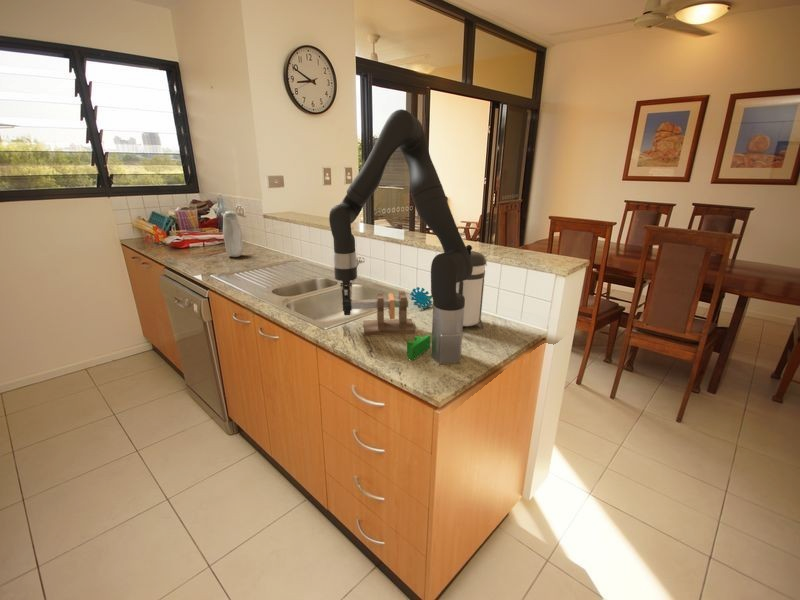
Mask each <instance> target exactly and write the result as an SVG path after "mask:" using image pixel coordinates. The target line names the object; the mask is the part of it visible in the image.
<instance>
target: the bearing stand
mask: <svg viewBox="0 0 800 600" xmlns="http://www.w3.org/2000/svg"><path fill="white" fill-rule="evenodd" d="M376 299H377V301H378V308H376V320H375V319H374V320H371V319H370V320H362V321H363V336H364V337H378V336H397V335H398V336H400V335H402V336H403V335H416V328H415V326H414V325H415V324H414V323H413V320H412V319H413V318H408V317H407V316H408V315H407V314H408V313H407V312H408V310H407V309H408V307H407V299H408V296H407V295H406V292H405V290H398V299H400V307H398V318H396V319H385V318H384V315H385V312H384V311H385V310H384V309H385V308H384V299H385V298H384V293H383V291H376Z"/></svg>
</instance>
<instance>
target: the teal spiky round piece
mask: <svg viewBox="0 0 800 600" xmlns="http://www.w3.org/2000/svg"><path fill="white" fill-rule="evenodd" d="M424 291H425V288H424V287H421V288H420V287H419V286H417V287H416V288H413V289H412V290H411V292H410V296H411V297H410V300H411V301H413V305H414V306H416V305H417V304H419V305H418V306H417V307H418V308H419V309H421V308H422V309H423V310H426V309H427V308H430V307H431V304H433V300H431V299H433V298H432V294H431V295H429V291H428V290H427V291H425V292H424Z"/></svg>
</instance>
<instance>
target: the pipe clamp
mask: <svg viewBox="0 0 800 600" xmlns="http://www.w3.org/2000/svg"><path fill="white" fill-rule="evenodd" d="M431 338H432V334H431V335H430V334H426V335H425V336H423V337H422V336H418V335H414V340H407V341H406V354H407V355H408V359H410V360H412V361H414V360H415V359H416V358H418V357H419V356H420V355H422V354H423V353H424V352H426V351H427V350H428V349H430V348H431ZM417 356H418V357H417ZM414 358H415V359H414ZM408 359H407V360H408ZM413 359H414V360H413ZM410 360H409V361H410Z"/></svg>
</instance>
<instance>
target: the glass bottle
mask: <svg viewBox="0 0 800 600" xmlns="http://www.w3.org/2000/svg"><path fill="white" fill-rule="evenodd" d="M236 214H237V213H235V211H233V210H226V211H224V213H223V216H222V219H223V220H222V221H223V222H222V223H223V225H222V234H223V236H222V237H223V240H224V247H225V250H226V254H227V255H228V256H230V257H231V258H238V257H241V255H242V254H243V252H244V245H243V235H242V229H241V227H240V224H239V221H238V218H237V215H236Z"/></svg>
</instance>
